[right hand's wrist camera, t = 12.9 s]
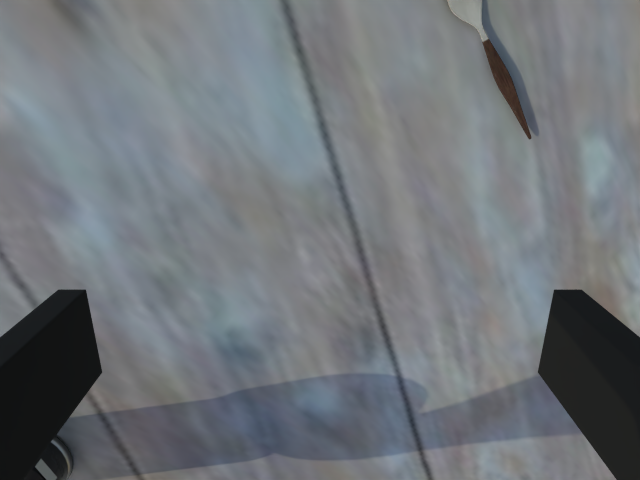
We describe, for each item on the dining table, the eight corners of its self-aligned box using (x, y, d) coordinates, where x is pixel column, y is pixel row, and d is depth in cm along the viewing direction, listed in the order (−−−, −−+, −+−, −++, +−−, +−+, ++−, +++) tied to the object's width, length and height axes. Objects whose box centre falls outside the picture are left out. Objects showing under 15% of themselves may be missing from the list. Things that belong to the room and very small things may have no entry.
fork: (513, 146, 39) (523, 149, 37) (430, -33, 35) (436, -39, 33) (541, 130, 39) (553, 132, 37) (461, -53, 34) (469, -61, 32)
